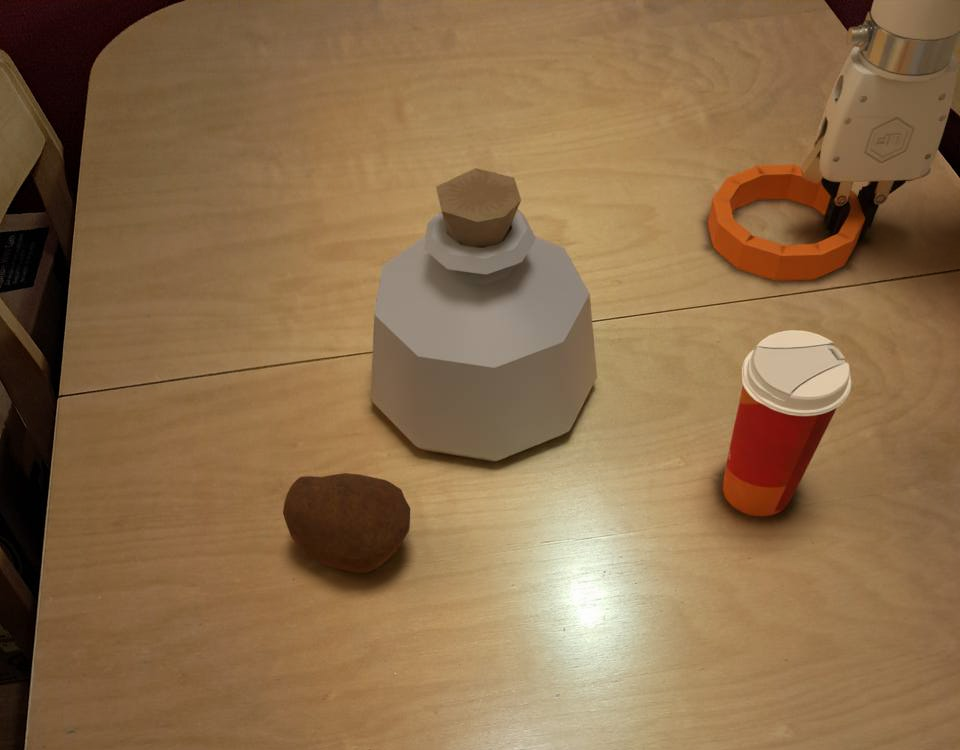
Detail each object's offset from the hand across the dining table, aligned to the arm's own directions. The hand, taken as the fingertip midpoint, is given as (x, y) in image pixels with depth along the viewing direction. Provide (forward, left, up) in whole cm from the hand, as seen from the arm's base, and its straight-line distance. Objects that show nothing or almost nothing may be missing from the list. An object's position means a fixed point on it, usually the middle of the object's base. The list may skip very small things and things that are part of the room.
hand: (844, 231), depth 97 cm
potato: (+47, +38, 0) cm, 61 cm away
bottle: (+36, +20, 0) cm, 41 cm away
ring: (+6, 0, 0) cm, 6 cm away
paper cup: (+14, +33, 0) cm, 36 cm away
